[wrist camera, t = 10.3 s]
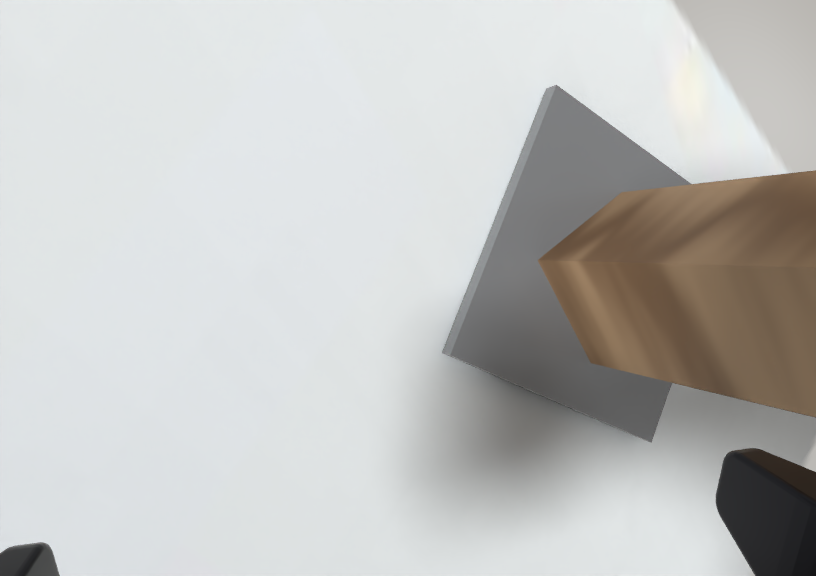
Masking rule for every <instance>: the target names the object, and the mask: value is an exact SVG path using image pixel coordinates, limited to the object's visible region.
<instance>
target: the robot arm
mask: <svg viewBox="0 0 816 576" xmlns="http://www.w3.org/2000/svg"><path fill="white" fill-rule="evenodd" d="M716 506H717V509H718V512H719V515H720V517H721V518H722V520H723V522H724V523H725V525H726V527H727V529H728V530H729V532H730V534H731V535H732V537H733V539H734V540H735V542H736V544H737V546H738V547H739V549H740V551H741V552H742V554H743V556H744V557H745V559H746V561H747V563H748V564H749V566H750V568H751V569H752V571H753V573H754V574H755V576H816V472H814V471H812V470H809V469H806V468H804V467H802V466H799V465H797V464H794V463H792V462H790V461H787V460H785V459H782V458H780V457H777V456H775V455H773V454H770V453H768V452H765V451H763V450H760V449H755V448H750V449H743V450H735V451H731V452H729V453H728V454H727V455H726V456H725V458H724V460H723V465H722V469H721V474H720V479H719V483H718V488H717V492H716ZM0 576H60V575H59V572H58V569H57V565H56V562H55V558H54V555H53V552H52V550H51V548H50V546H49V545H48V544H46V543H42V542H40V543H32V544H25V545H17V546H13V547H9V548H7V549H6V550H4V551H3V552H1V553H0Z"/></svg>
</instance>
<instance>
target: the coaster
mask: <svg viewBox="0 0 816 576" xmlns="http://www.w3.org/2000/svg"><path fill="white" fill-rule="evenodd" d="M682 185H691V184H690V183H689V182H688V181H686V180H685V179H684V178H682V177H681V176H680V175H678V174H677V173H676V172H674V171H673V170H671V169H670V168H669V167H667V166H666V165H665V164H663V163H662V162H661V161H659V160H658V159H656V158H655V157H654V156H652V155H651V154H650V153H648V152H647V151H646V150H644V149H643V148H641V147H640V146H639V145H637V144H636V143H635V142H633V141H632V140H631V139H629V138H628V137H627V136H625V135H624V134H622V133H621V132H620V131H618V130H617V129H616V128H614V127H613V126H612V125H610V124H609V123H607V122H606V121H605V120H603V119H602V118H601V117H599V116H598V115H597V114H595V113H594V112H593V111H591V110H590V109H588V108H587V107H586V106H584V105H583V104H582V103H580V102H579V101H578V100H576V99H575V98H573V97H572V96H571V95H569V94H568V93H567V92H565V91H564V90H563V89H561V88H560V87H559V86H557V85H555V86H552V87H550V88H547V89H546V91H545V93H544V96H543V98H542V101H541V104H540V106H539V109H538V111H537V114H536V116H535V119H534V121H533V124H532V126H531V129H530V131H529V134H528V136H527V139H526V142H525V144H524V147H523V149H522V152H521V154H520V157H519V159H518V162H517V164H516V167H515V169H514V172H513V174H512V177H511V180H510V182H509V185H508V187H507V190H506V192H505V195H504V197H503V200H502V202H501V205H500V207H499V210H498V212H497V215H496V217H495V220H494V223H493V225H492V228H491V230H490V233H489V235H488V238H487V240H486V243H485V245H484V248H483V250H482V253H481V255H480V258H479V261H478V263H477V266H476V268H475V271H474V273H473V276H472V278H471V281H470V283H469V286H468V288H467V291H466V293H465V296H464V298H463V301H462V304H461V306H460V309H459V311H458V314H457V316H456V319H455V321H454V324H453V326H452V329H451V331H450V334H449V336H448V339H447V342H446V344H445V347H444V349H443V352H442V353H444V354H446V355H448V356H451V357H453V358H455V359H458V360H460V361H462V362H465V363H467V364H469V365H472V366H474V367H476V368H478V369H481V370H483V371H485V372H488V373H490V374H492V375H495V376H497V377H499V378H502V379H504V380H506V381H509V382H511V383H513V384H515V385H518V386H520V387H522V388H525V389H527V390H529V391H532V392H534V393H536V394H539V395H541V396H543V397H546V398H548V399H550V400H552V401H555V402H557V403H559V404H562V405H564V406H566V407H569V408H571V409H573V410H576V411H578V412H580V413H582V414H585V415H587V416H589V417H592V418H594V419H596V420H599V421H601V422H603V423H606V424H608V425H610V426H613V427H615V428H617V429H619V430H622V431H624V432H626V433H629V434H631V435H633V436H636V437H638V438H640V439H643V440H646V441H649V442H652V439H653V436H654V433H655V430H656V427H657V424H658V421H659V419H660V416H661V413H662V410H663V407H664V404H665V401H666V398H667V395H668V392H669V389H670V387H671V384H672V383H671V382H667V381H663V380H659V379H654V378H650V377H646V376H642V375H638V374H634V373H630V372H625V371H621V370H617V369H613V368H609V367H605V366H601V365H596V364H592V363H591V362H590V361H589V359H588V357H587V355H586V353H585V351H584V349H583V347H582V345H581V343H580V341H579V339H578V337H577V335H576V333H575V332H574V330H573V328H572V326H571V324H570V322H569V320H568V318H567V316H566V314H565V312H564V310H563V308H562V306H561V304H560V303H559V301H558V299H557V297H556V295H555V293H554V291H553V289H552V287H551V285H550V283H549V281H548V279H547V277H546V276H545V274H544V272H543V270H542V268H541V266H540V264H539V262H538V259H540V258H541V257H542V256H543V255H544V254H546V253H547V252H548V251H549V250H551V249H552V248H553V247H554V246H556V245H557V244H558V243H559V242H561V241H562V240H563V239H564V238H566V237H567V236H568V235H569V234H571V233H572V232H573V231H574V230H575V229H577V228H578V227H579V226H580V225H582V224H583V223H584V222H585V221H587V220H588V219H589V218H590V217H592V216H593V215H594V214H595V213H597V212H598V211H599V210H600V209H602V208H603V207H604V206H605V205H607V204H608V203H609V202H610V201H611V200H613V199H614V198H615V197H616V196H618V195H619V194H620V193H621V192H628V191H637V190H646V189H655V188H664V187H673V186H682Z"/></svg>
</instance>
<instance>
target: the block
mask: <svg viewBox="0 0 816 576" xmlns="http://www.w3.org/2000/svg"><path fill="white" fill-rule="evenodd" d="M538 262H539V264H540V266H541V268H542V270H543V272H544V274H545V276H546V277H547V279H548V281H549V283H550V285H551V287H552V289H553V291H554V293H555V295H556V297H557V299H558V301H559V303H560V304H561V306H562V308H563V310H564V312H565V314H566V316H567V318H568V320H569V322H570V324H571V326H572V328H573V330H574V332H575V333H576V335H577V337H578V339H579V341H580V343H581V345H582V347H583V349H584V351H585V353H586V355H587V357H588V359H589V361H590V362H591V363H592V364H596V365H601V366H605V367H609V368H613V369H617V370H621V371H625V372H630V373H634V374H638V375H642V376H646V377H650V378H654V379H659V380H663V381H667V382H671V383H675V384H679V385H684V386H688V387H692V388H696V389H700V390H704V391H708V392H713V393H717V394H721V395H725V396H729V397H733V398H737V399H742V400H746V401H750V402H754V403H758V404H762V405H766V406H771V407H775V408H779V409H783V410H787V411H791V412H795V413H800V414H804V415H808V416H812V417H816V171H807V172H798V173H789V174H780V175H771V176H762V177H753V178H744V179H735V180H727V181H718V182H709V183H700V184H691V185H682V186H673V187H664V188H655V189H646V190H637V191H628V192H621V193H620V194H619V195H618V196H616V197H615V198H614V199H613V200H611V201H610V202H609V203H608V204H607V205H605V206H604V207H603V208H602V209H600V210H599V211H598V212H597V213H595V214H594V215H593V216H592V217H590V218H589V219H588V220H587V221H585V222H584V223H583V224H582V225H580V226H579V227H578V228H577V229H575V230H574V231H573V232H572V233H571V234H569V235H568V236H567V237H566V238H564V239H563V240H562V241H561V242H559V243H558V244H557V245H556V246H554V247H553V248H552V249H551V250H549V251H548V252H547V253H546V254H544V255H543V256H542V257H541V258H540V259H538Z"/></svg>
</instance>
